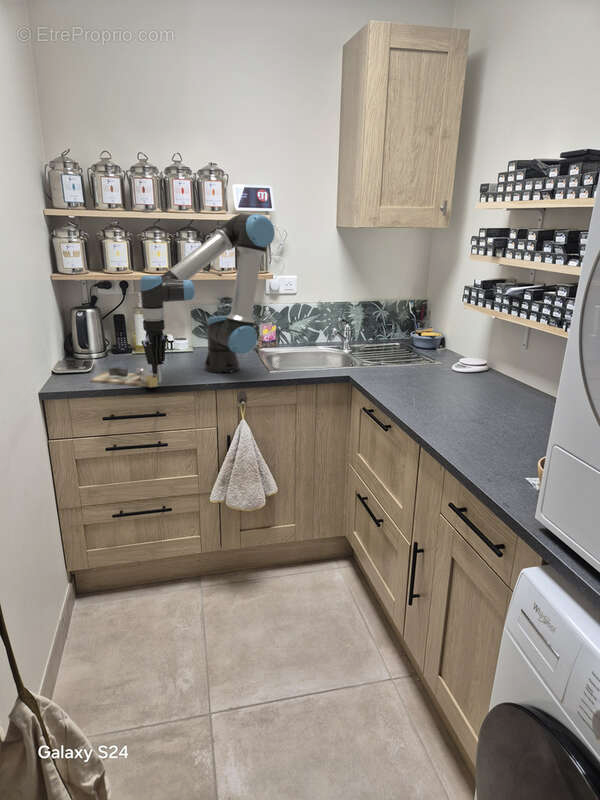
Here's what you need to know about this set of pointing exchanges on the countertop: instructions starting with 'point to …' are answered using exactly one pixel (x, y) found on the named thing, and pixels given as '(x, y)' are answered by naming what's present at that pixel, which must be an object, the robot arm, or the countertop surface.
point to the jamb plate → (135, 381)
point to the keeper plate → (114, 376)
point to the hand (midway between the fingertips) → (157, 381)
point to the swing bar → (147, 376)
